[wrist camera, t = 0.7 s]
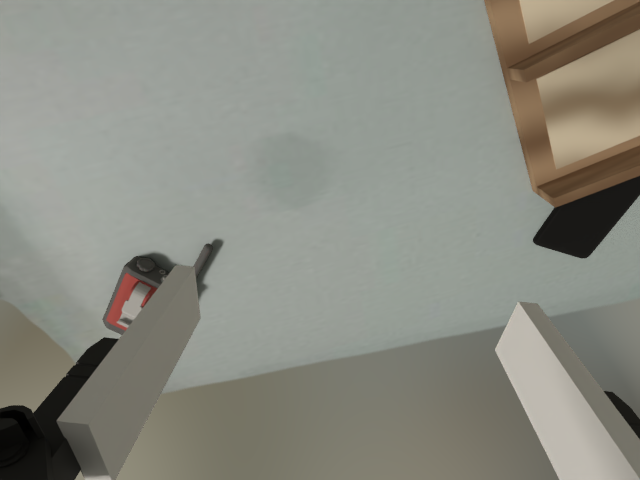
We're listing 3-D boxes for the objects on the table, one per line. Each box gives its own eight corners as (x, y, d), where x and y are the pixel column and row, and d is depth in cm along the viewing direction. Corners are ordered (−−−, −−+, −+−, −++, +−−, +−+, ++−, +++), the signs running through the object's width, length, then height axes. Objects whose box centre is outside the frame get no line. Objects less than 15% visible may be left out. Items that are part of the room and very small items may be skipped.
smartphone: (693, 131, 32) (586, 260, 39) (685, 129, 32) (582, 256, 40) (628, 108, 31) (532, 244, 38) (622, 107, 32) (528, 240, 39)
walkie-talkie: (166, 340, 51) (221, 244, 42) (152, 364, 47) (209, 263, 38) (109, 313, 49) (154, 207, 40) (89, 336, 45) (133, 223, 36)
